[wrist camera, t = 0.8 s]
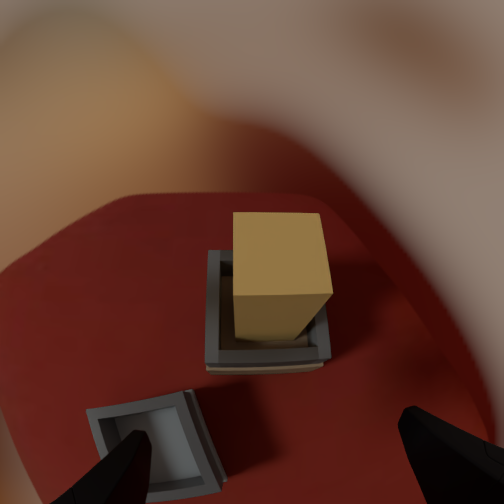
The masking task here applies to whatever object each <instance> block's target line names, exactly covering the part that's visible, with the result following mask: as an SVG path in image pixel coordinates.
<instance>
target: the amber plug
mask: <svg viewBox="0 0 504 504" xmlns="http://www.w3.org/2000/svg"><path fill="white" fill-rule="evenodd" d="M332 294H333V289H332V283H331V276H330V270H329V264H328V258H327V253H326V247H325V242H324V236H323V231H322V226H321V221H320V216H319V214H317V213H259V212H234V220H233V301H234V321H235V340H236V342H270V341H293V340H294V339H295V338H296V337H297V336H298V335H299V334H300V332H301V331H302V330H303V329H304V328H305V327H306V325H307V324H308V323H309V322H310V321H311V320H312V318H313V317H314V316H315V315H316V314H317V312H318V311H319V310H320V309H321V307H322V306H323V305H324V304H325V303H326V301H327V300H328V299H329V298H330V296H331V295H332Z"/></svg>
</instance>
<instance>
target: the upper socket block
mask: <svg viewBox="0 0 504 504" xmlns="http://www.w3.org/2000/svg"><path fill="white" fill-rule="evenodd" d="M330 358H331V348H330V339H329V330H328V321H327V313H326V305H325V304H324V305H323V306H322V307H321V309H320V310H319V311H318V312H317V314H316V315H315V316H314V317H313V318H312V320H311V321H310V322H309V323H308V324H307V325H306V327H305V328H304V329H303V330H302V331H301V332H300V334H299V335H298V336H297V337H296V338H295V339H294V340H293V341H270V342H236V340H235V321H234V301H233V250H208V270H207V293H206V325H205V363H206V371H208V372H209V373H210V374H211V375H255V374H280V373H295V372H308V371H313V370H315V369H318V368H320V367H322V366H323V362H324V361H326V360H328V359H330Z"/></svg>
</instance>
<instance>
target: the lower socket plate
mask: <svg viewBox="0 0 504 504" xmlns="http://www.w3.org/2000/svg"><path fill="white" fill-rule="evenodd" d="M86 412H87V416H88V420H89V423H90V427H91V430H92V434H93V437H94V440H95V443H96V446H97V449H98V452H99V455H100V458H101V460H102V459H103V458H104V457H105V456H106V455H107V454H108V453H109V452H110V451H111V450H113V449H114V448H115V447H116V446H117V445H118V444H119V443H120V442H121V441H122V440H123V439H124V438H125V437H126V436H127V435H128V434H129V433H130V432H132V431H133V430H135V429H137V430H144V431H146V432H147V434H148V437H149V439H150V442H151V444H152V457H151V469H150V481H149V489H148V494H147V498H146V503H150V502H161V501H170V500H177V499H184V498H191V497H196V496H202V495H207V494H212V493H217V492H221V491H222V486H223V482H226V481H227V479H228V478H227V475H226V473H225V471H224V468H223V466H222V464H221V461H220V459H219V457H218V454H217V452H216V449H215V447H214V444H213V442H212V439H211V437H210V434H209V431H208V429H207V426H206V423H205V421H204V418H203V415H202V412H201V409H200V407H199V404H198V401H197V398H196V395H195V392H194V390H193V389H190V390H186V391H180V392H176V393H172V394H168V395H164V396H159V397H155V398H150V399H145V400H140V401H135V402H130V403H125V404H119V405H113V406H107V407H100V408H93V409H86Z"/></svg>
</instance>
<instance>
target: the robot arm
mask: <svg viewBox="0 0 504 504" xmlns="http://www.w3.org/2000/svg"><path fill="white" fill-rule="evenodd" d="M398 429H399V432H400V435H401V438H402V441H403V445H404V448H405V451H406V454H407V457H408V460H409V462H410V465H411V467H412V469H413V471H414V474H415V476H416V478H417V481H418V483H419V485H420V488H421V490H422V493H423V495H424V497H425V500H426V502H427V504H504V448H501V447H498V446H496V445H493V444H491V443H489V442H487V441H485V440H484V441H483V440H482V439H480V438H478V437H476V436H474V435H472V434H470V433H468V432H466V431H464V430H461V429H459V428H457V427H455V426H453V425H451V424H449V423H448V422H446V421H444V420H442V419H440V418H438V417H436V416H434V415H432V414H430V413H428V412H426V411H424V410H423V409H421V408H419V407H417V406H410V407H407V408H405V409H404V411H403V413H402V415H401V417H400V419H399V422H398ZM151 457H152V444H151V442H150V439H149V437H148V434H147V432H146V431H144V430H137V429H135V430H133V431H132V432H130V433H129V434H128V435H127V436H126V437H125V438H124V439H123V440H122V441H121V442H120V443H119V444H118V445H117V446H116V447H115V448H114V449H113V450H111V451H110V452H109V453H108V454H107V455H106V456H105V457H104V458H103V459H102V460H101V461H100V462H99V463H97V464H96V465H95V466H94V467H93V468H92V469H91V470H90V471H89V472H88V473H86V474H85V475H84V476H83V477H82V478H81V479H80V480H79V481H77V482H76V483H75V484H74V485H73V486H72V487H70V488H69V489H68V490H67V491H66V492H65V493H63V494H62V495H61V496H60V497H58V498H57V499H56V500H54V501H53V502H51V503H50V504H145V503H146V498H147V494H148V489H149V481H150V469H151Z"/></svg>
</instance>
